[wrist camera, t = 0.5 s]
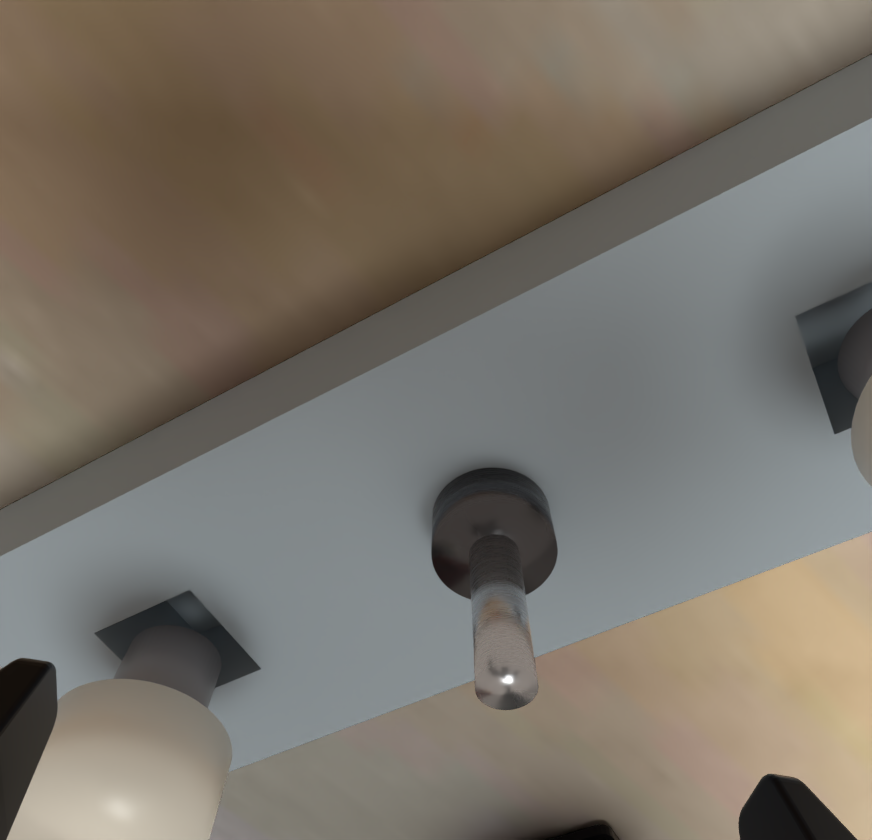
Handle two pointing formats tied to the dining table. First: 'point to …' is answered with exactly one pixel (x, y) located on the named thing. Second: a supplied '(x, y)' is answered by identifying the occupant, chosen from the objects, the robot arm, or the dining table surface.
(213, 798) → the knob left
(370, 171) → the dining table surface
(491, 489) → the pot stem
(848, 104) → the mount
